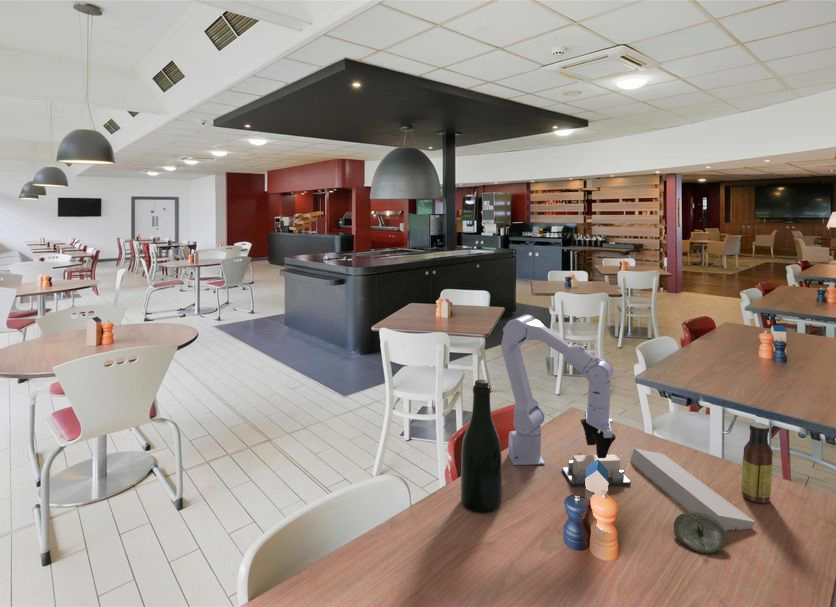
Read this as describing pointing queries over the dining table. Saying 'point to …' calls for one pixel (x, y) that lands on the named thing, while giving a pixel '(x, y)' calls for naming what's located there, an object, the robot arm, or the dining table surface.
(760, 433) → the sauce bottle
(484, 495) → the dark green wine bottle
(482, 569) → the dining table surface
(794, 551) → the dining table surface
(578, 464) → the cream rectangular block
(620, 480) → the rack
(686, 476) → the long grey wedge ramp
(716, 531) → the lid
